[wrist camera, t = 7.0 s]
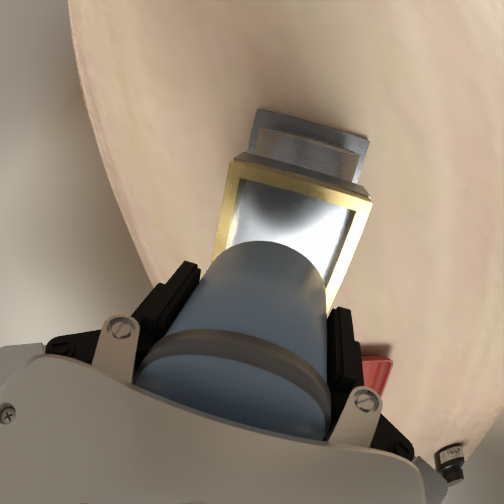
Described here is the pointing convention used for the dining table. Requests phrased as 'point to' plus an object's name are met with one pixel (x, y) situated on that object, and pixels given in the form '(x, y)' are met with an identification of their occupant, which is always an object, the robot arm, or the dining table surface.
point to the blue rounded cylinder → (250, 343)
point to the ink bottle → (450, 463)
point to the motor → (297, 194)
